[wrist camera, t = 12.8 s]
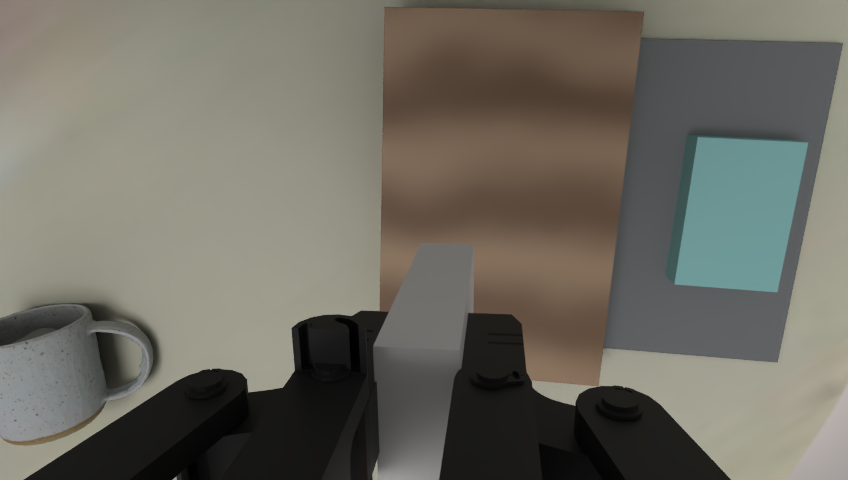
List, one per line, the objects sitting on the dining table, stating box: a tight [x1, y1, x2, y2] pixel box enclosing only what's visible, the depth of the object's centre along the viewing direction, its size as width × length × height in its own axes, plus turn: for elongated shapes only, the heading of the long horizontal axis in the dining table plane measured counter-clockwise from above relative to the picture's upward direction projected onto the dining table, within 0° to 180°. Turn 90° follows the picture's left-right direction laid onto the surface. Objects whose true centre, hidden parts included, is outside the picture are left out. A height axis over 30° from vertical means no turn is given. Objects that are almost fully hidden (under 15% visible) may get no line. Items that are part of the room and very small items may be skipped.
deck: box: [380, 7, 644, 386], centre depth 36 cm, size 22×14×4 cm, turn 178°
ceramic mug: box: [0, 304, 154, 446], centre depth 41 cm, size 11×8×8 cm
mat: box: [603, 38, 843, 362], centre depth 36 cm, size 20×12×1 cm, turn 178°
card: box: [666, 135, 808, 292], centre depth 35 cm, size 9×6×2 cm, turn 178°
